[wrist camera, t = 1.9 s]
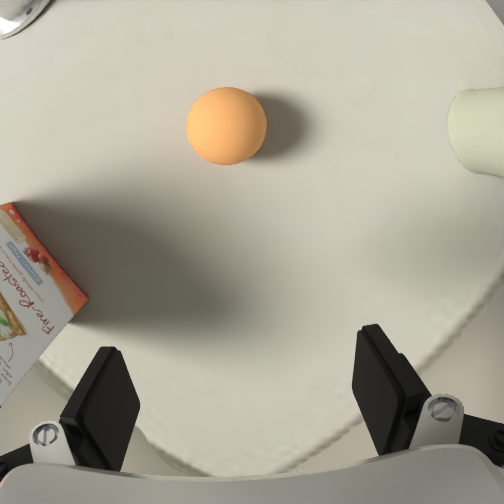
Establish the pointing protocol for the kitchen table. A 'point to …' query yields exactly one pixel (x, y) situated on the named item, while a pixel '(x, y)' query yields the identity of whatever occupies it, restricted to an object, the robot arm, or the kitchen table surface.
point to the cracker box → (29, 299)
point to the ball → (226, 126)
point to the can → (478, 130)
